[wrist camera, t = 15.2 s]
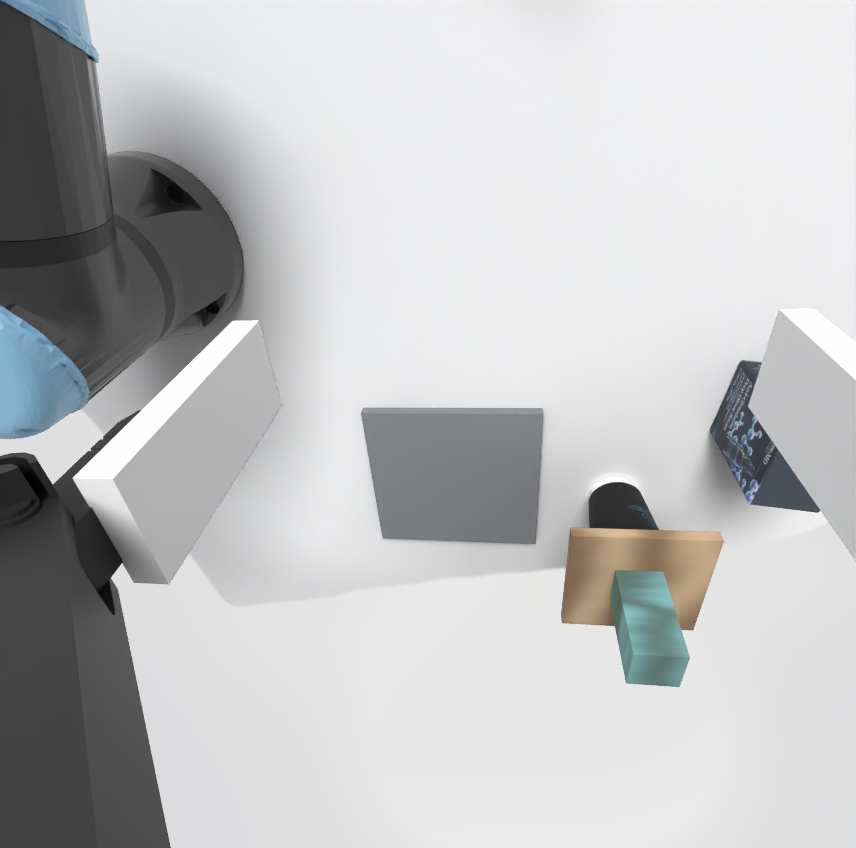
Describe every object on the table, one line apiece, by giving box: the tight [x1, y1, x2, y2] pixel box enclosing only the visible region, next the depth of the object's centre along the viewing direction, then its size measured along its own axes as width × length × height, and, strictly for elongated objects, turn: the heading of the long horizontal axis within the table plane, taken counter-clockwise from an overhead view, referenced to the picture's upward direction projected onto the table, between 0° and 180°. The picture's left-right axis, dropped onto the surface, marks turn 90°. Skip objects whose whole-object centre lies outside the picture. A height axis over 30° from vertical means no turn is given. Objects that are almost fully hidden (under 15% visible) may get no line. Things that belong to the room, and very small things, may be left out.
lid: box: [561, 527, 724, 687], centre depth 44 cm, size 12×12×9 cm
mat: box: [361, 408, 543, 544], centre depth 58 cm, size 18×18×1 cm
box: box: [710, 360, 821, 513], centre depth 44 cm, size 8×6×11 cm
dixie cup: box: [589, 477, 659, 530], centre depth 52 cm, size 8×8×11 cm
